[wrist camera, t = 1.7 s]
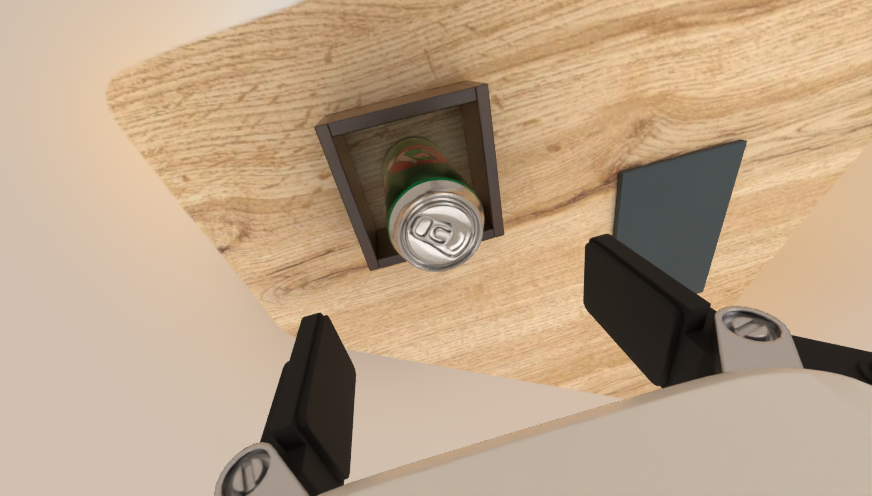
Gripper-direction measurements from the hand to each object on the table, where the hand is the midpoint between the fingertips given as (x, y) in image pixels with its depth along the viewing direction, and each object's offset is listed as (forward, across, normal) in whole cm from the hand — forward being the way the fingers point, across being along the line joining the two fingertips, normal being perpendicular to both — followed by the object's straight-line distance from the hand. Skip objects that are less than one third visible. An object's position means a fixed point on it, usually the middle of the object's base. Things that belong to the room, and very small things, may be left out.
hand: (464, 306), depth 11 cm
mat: (+17, -24, +14) cm, 33 cm away
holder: (+17, 0, 0) cm, 17 cm away
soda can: (+17, 0, 0) cm, 17 cm away
